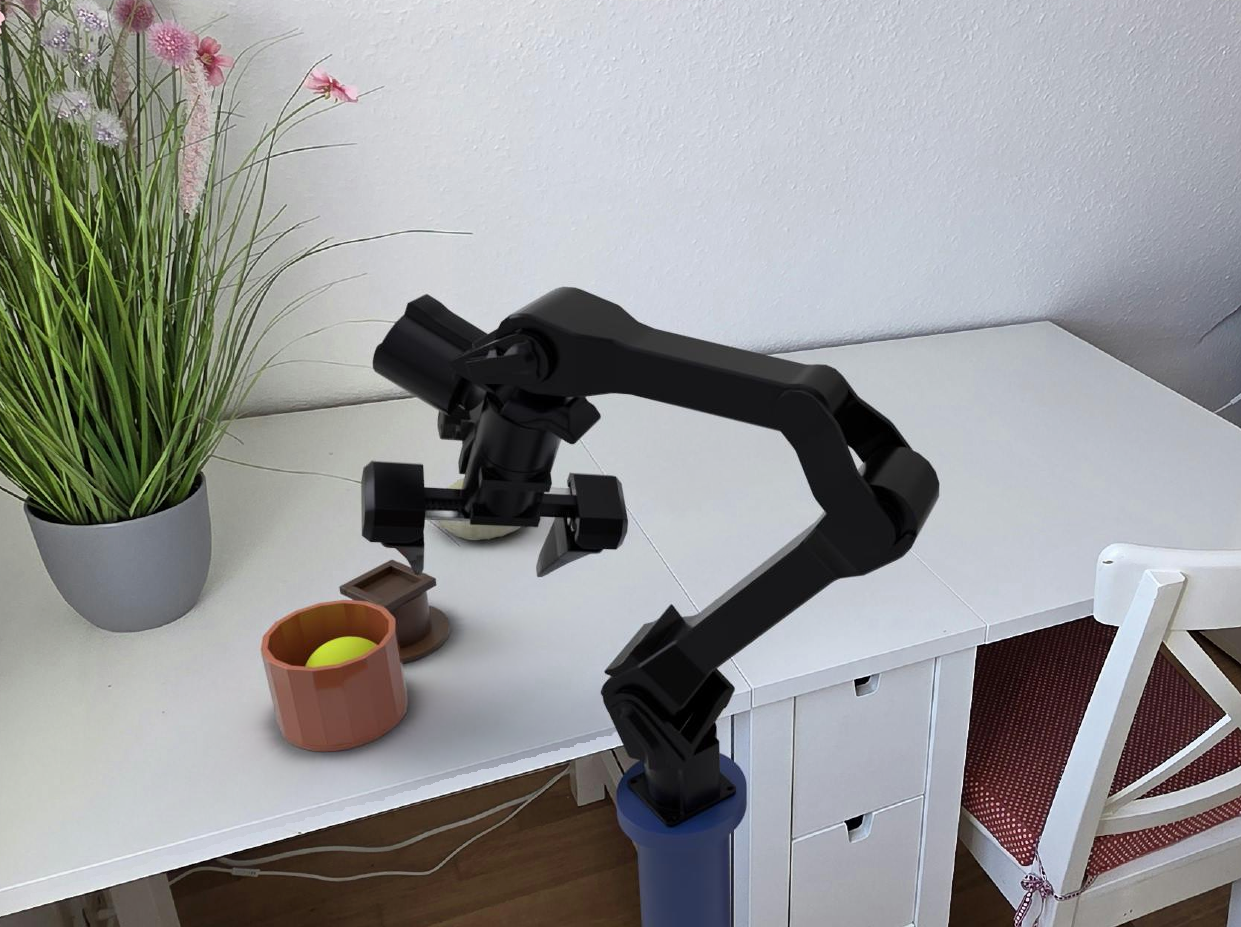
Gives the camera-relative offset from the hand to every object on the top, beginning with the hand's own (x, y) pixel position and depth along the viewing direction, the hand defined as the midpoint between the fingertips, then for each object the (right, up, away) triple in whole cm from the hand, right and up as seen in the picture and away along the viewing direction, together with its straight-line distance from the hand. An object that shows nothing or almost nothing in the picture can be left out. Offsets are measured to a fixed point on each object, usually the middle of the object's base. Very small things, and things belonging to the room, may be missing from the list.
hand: (479, 571), depth 98 cm
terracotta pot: (-12, -12, +3) cm, 17 cm away
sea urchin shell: (-11, +3, +31) cm, 33 cm away
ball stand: (-12, -7, +13) cm, 19 cm away
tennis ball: (-11, -9, +1) cm, 14 cm away
